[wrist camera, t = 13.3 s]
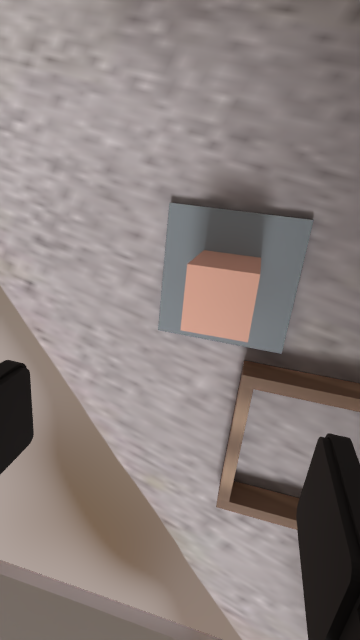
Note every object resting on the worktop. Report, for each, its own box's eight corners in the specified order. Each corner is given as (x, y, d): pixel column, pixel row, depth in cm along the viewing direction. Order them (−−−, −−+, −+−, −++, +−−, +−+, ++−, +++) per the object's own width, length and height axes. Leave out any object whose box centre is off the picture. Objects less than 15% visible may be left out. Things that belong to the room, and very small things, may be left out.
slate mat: (281, 350, 32) (281, 353, 31) (160, 327, 34) (158, 330, 33) (312, 219, 28) (313, 220, 27) (171, 202, 30) (169, 202, 29)
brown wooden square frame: (370, 526, 36) (379, 553, 33) (219, 485, 39) (216, 507, 36) (426, 396, 30) (443, 416, 27) (244, 360, 33) (242, 374, 30)
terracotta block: (251, 312, 31) (247, 342, 24) (197, 303, 31) (180, 330, 25) (261, 257, 29) (260, 274, 22) (203, 250, 30) (187, 264, 23)
